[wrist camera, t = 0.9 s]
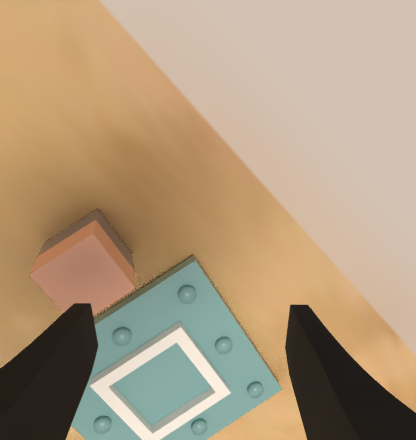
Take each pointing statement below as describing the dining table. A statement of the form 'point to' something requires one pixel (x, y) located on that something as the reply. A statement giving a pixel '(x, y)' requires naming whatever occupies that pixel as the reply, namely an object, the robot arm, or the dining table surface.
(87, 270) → the brick stack
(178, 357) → the baseplate
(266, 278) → the dining table surface
